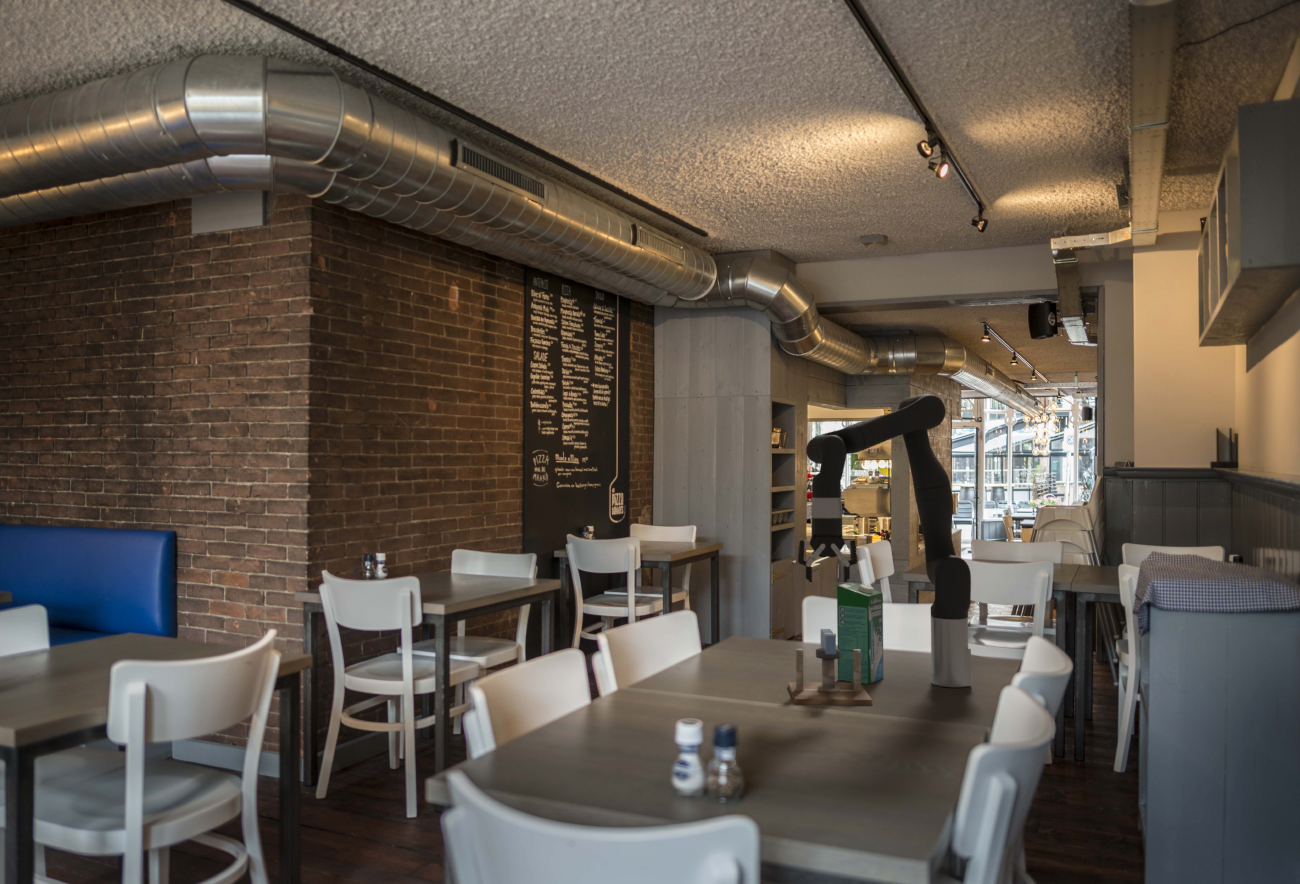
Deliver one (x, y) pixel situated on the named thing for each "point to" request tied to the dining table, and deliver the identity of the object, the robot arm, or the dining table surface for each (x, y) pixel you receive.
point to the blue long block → (828, 646)
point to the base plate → (829, 696)
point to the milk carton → (860, 631)
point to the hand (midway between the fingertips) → (827, 581)
